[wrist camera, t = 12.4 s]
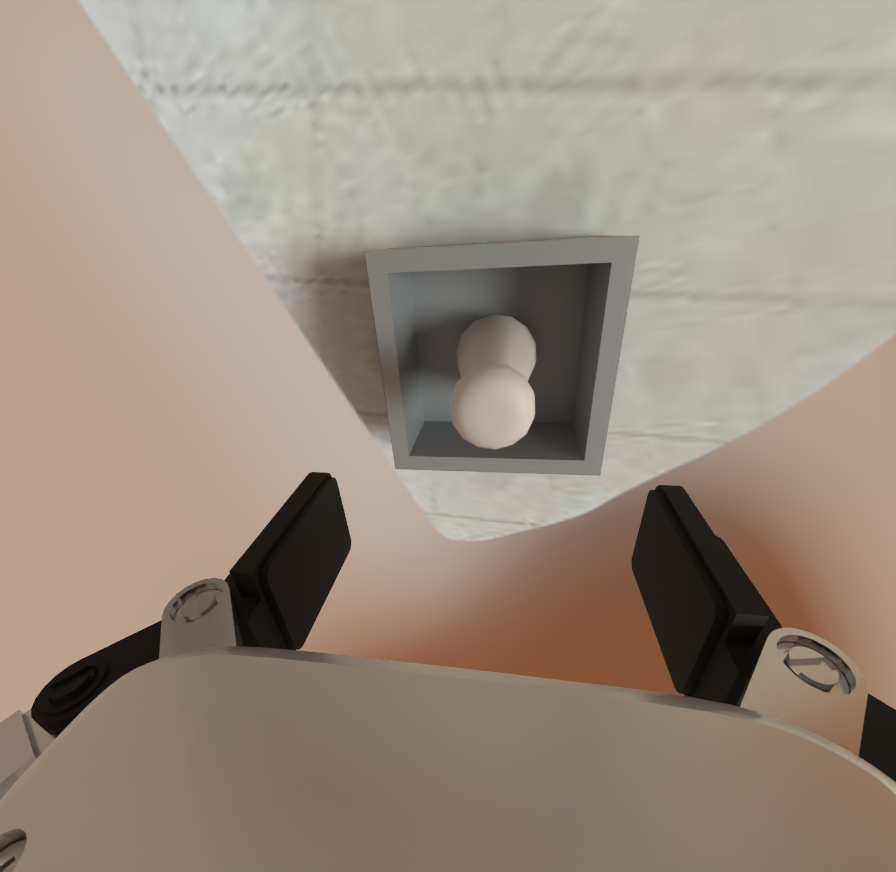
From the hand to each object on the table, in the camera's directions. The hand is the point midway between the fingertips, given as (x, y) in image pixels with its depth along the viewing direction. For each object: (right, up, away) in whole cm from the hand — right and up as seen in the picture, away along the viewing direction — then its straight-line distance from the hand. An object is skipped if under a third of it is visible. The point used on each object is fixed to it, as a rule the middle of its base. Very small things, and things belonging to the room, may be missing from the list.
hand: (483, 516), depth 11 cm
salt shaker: (+3, +9, +18) cm, 21 cm away
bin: (+3, +10, +19) cm, 21 cm away
